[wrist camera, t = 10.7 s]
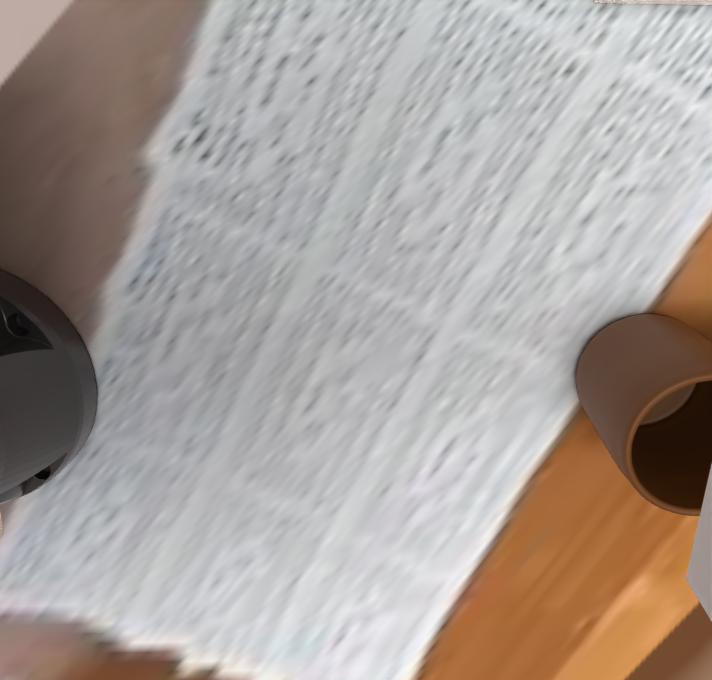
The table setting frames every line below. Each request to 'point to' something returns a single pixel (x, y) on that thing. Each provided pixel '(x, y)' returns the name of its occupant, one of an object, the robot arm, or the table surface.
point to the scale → (658, 2)
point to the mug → (653, 406)
